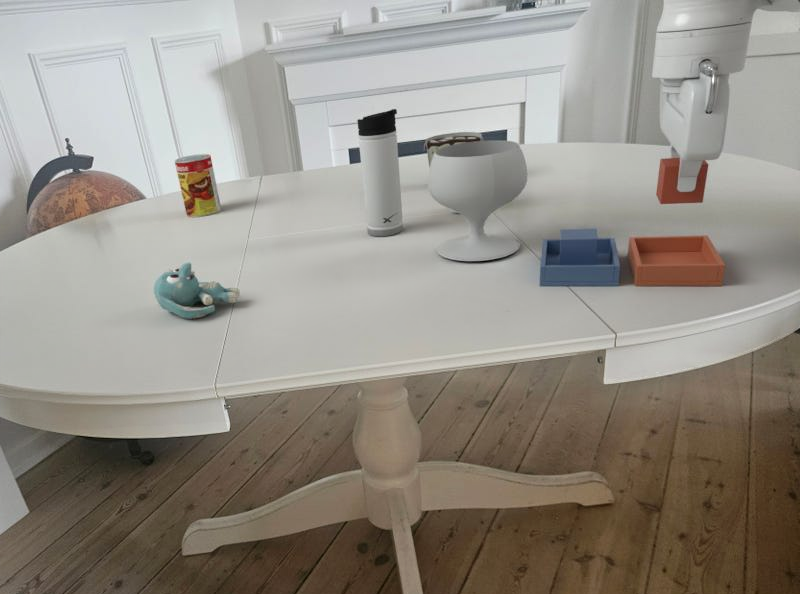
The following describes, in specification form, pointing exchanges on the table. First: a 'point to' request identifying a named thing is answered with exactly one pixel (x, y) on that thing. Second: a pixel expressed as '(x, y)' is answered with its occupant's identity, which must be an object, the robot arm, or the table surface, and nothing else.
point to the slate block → (578, 247)
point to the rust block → (668, 180)
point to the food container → (449, 141)
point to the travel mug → (380, 173)
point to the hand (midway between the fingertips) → (681, 184)
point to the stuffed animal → (190, 293)
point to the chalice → (477, 193)
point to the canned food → (198, 185)
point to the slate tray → (580, 266)
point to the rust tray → (675, 261)
